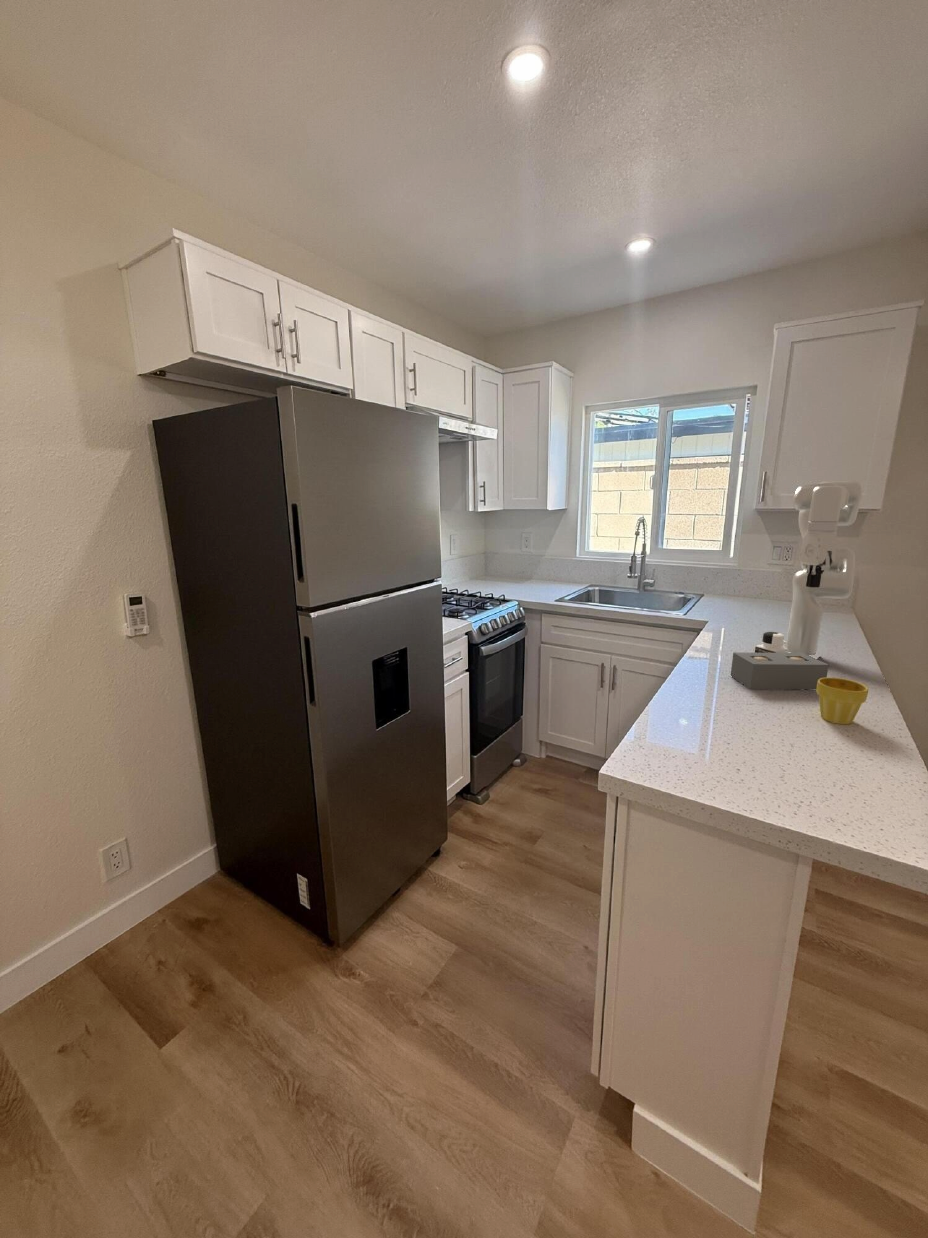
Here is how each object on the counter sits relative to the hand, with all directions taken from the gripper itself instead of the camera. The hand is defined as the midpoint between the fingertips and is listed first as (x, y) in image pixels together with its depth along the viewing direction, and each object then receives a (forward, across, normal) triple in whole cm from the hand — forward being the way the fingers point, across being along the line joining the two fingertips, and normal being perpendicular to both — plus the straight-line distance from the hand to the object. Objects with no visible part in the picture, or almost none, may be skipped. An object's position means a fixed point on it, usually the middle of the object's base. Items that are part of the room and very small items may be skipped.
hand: (812, 586), depth 156 cm
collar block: (+29, +8, -12) cm, 32 cm away
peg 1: (+28, +8, -18) cm, 34 cm away
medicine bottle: (+29, -8, -5) cm, 31 cm away
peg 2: (+28, +8, -6) cm, 30 cm away
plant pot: (+29, +35, -12) cm, 47 cm away
